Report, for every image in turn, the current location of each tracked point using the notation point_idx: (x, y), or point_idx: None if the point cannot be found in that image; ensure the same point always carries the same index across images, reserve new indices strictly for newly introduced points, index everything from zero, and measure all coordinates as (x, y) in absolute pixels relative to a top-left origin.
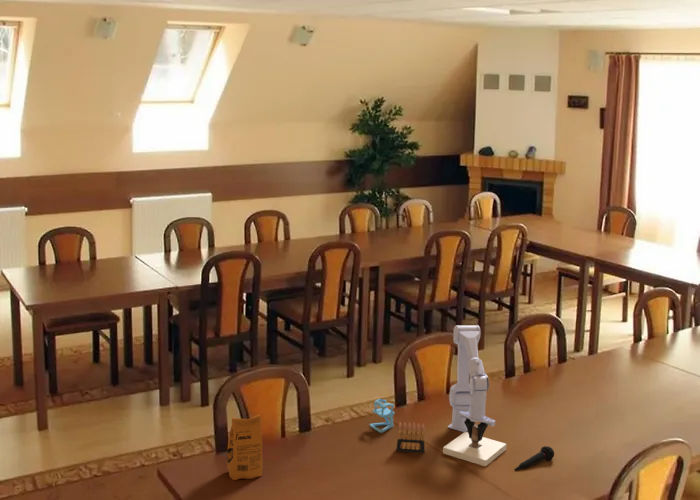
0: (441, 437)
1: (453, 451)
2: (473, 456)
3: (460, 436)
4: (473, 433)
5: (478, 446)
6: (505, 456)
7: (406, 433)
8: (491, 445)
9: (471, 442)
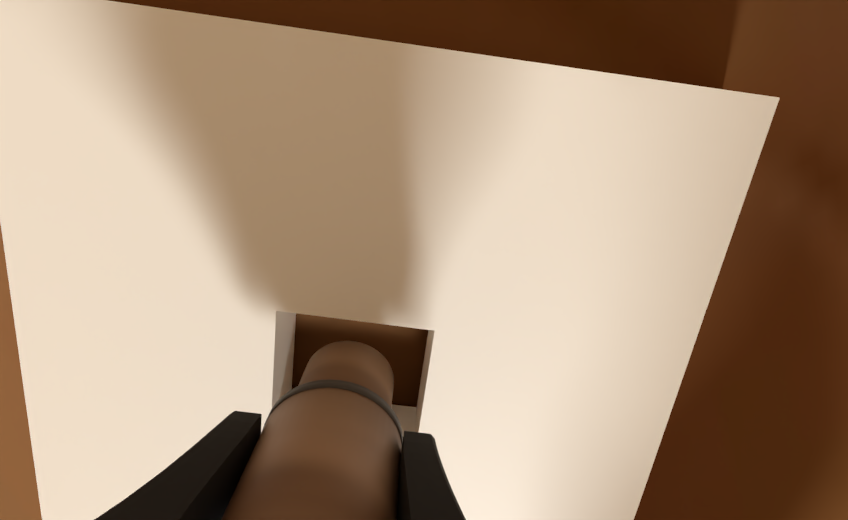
0: (812, 485)
1: (584, 69)
2: (211, 18)
3: None
4: (320, 489)
5: None
6: (16, 394)
7: None
8: None
9: None
